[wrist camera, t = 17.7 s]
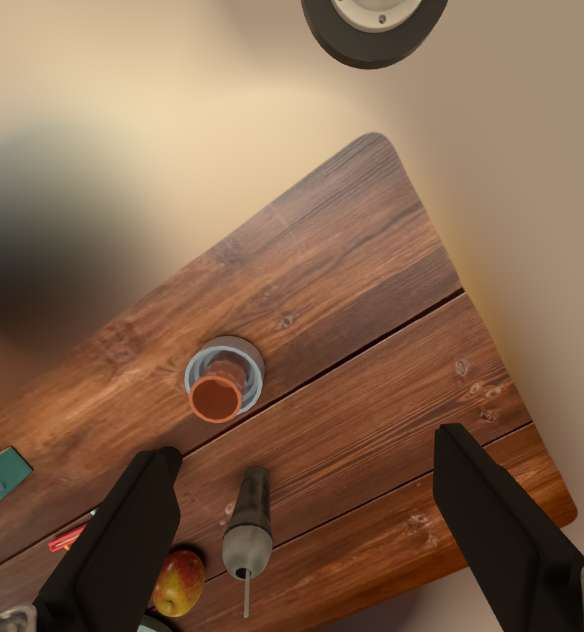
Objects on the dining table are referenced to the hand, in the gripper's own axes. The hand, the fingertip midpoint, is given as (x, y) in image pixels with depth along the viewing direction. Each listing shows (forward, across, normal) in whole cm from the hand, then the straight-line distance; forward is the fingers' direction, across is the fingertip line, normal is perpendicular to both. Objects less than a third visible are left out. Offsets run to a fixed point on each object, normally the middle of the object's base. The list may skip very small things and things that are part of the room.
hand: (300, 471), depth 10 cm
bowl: (+34, +12, +12) cm, 38 cm away
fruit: (+33, +27, +52) cm, 67 cm away
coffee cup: (+33, +12, +12) cm, 37 cm away
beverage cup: (+34, +11, +34) cm, 49 cm away
